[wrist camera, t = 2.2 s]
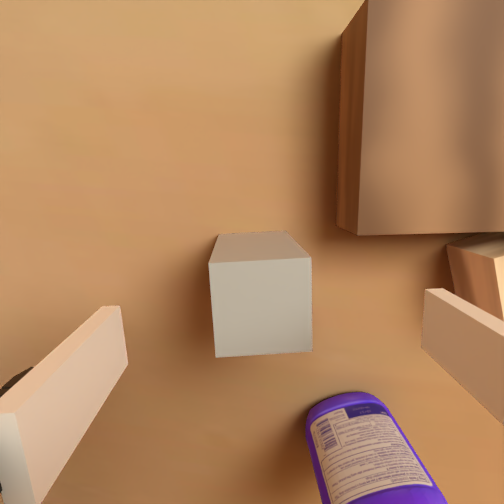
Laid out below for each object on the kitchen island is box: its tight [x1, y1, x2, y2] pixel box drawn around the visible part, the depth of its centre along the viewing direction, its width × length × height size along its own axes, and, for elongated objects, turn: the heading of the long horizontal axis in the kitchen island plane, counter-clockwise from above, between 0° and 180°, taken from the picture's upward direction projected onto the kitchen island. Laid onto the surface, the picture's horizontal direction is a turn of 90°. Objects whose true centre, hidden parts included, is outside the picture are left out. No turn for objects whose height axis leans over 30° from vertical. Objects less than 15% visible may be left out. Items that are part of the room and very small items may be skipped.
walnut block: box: [336, 0, 504, 235], centre depth 22 cm, size 13×13×5 cm
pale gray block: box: [208, 231, 312, 358], centre depth 21 cm, size 5×5×9 cm
